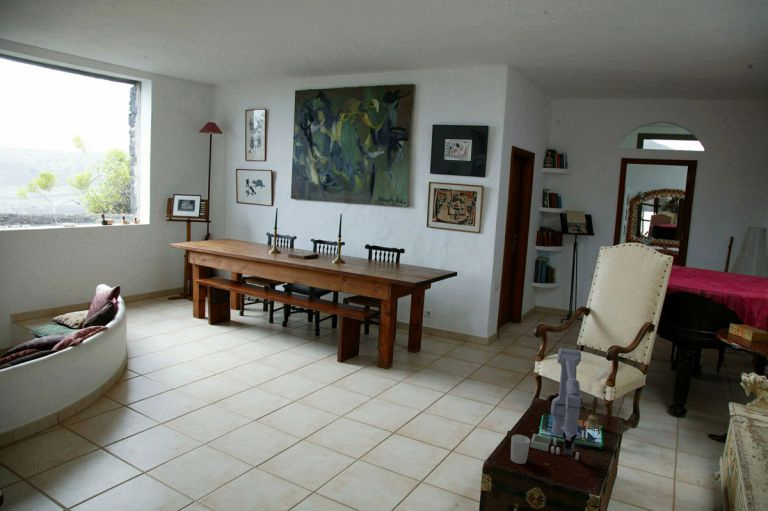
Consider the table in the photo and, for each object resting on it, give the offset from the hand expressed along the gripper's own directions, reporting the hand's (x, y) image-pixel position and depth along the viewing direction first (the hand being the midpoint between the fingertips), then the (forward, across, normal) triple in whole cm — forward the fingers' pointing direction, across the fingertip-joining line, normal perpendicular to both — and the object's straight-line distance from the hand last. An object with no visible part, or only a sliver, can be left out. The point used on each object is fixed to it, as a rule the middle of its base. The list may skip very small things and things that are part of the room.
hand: (568, 448), depth 237 cm
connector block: (+4, -4, 0) cm, 6 cm away
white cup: (+4, +15, -19) cm, 24 cm away
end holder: (+4, -4, -12) cm, 13 cm away
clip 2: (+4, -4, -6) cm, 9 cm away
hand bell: (+5, -39, +8) cm, 40 cm away
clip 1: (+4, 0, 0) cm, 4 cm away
